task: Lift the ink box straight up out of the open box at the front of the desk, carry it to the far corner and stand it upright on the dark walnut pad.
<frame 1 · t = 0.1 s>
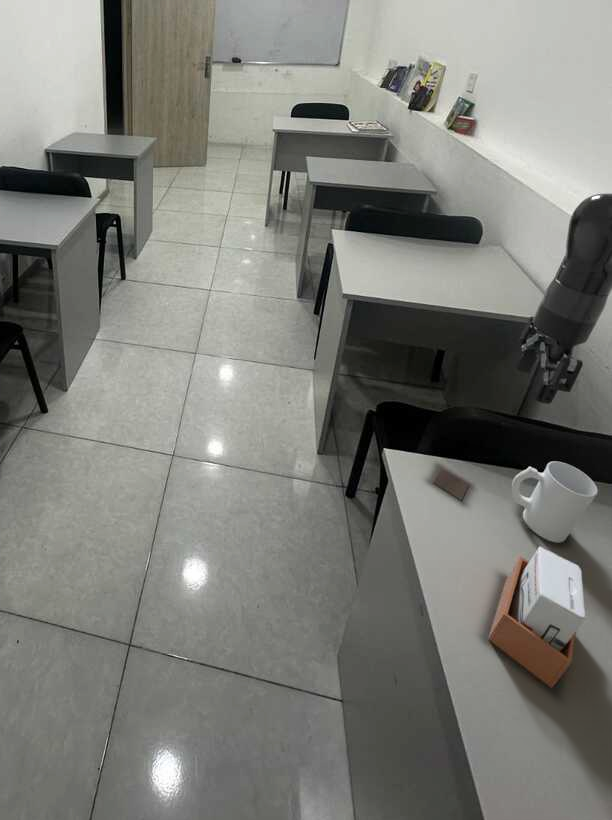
hand: (531, 385, 86), 22 cm above the table, tool pointing down, fingers open, 8 cm apart
open box: (525, 631, 69), on the table
ink box: (526, 630, 69), resting on open box
mug: (531, 522, 85), on the table
pad: (449, 485, 91), on the table
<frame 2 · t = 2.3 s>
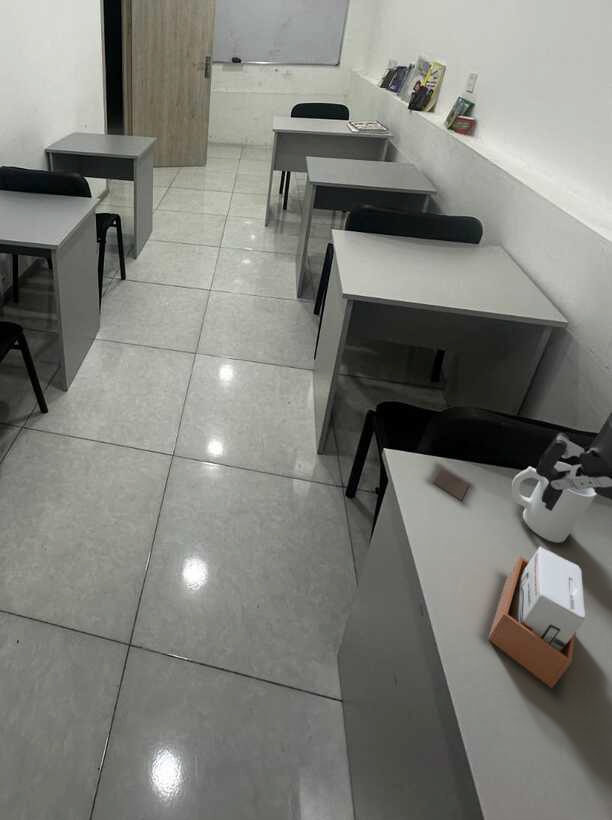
hand: (588, 528, 61), 21 cm above the table, tool pointing down, fingers open, 8 cm apart
nothing on the table moved.
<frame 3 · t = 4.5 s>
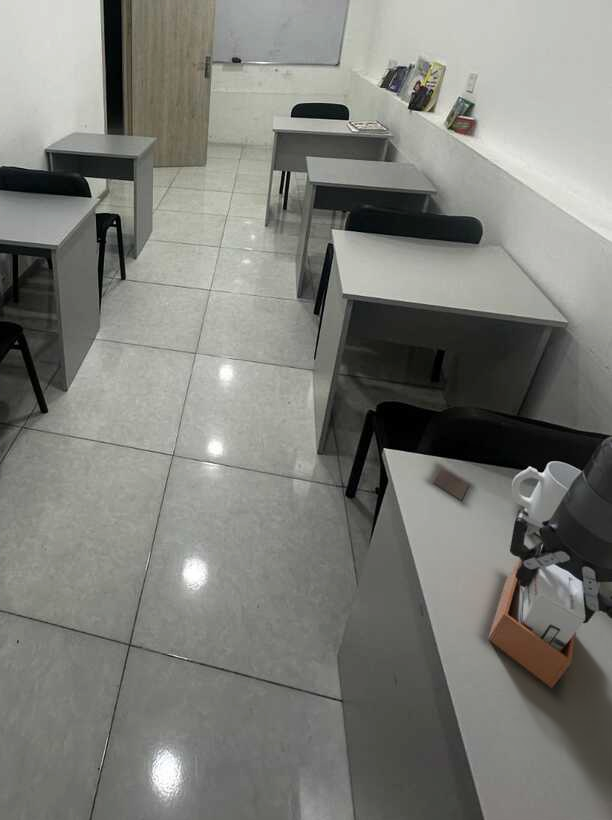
hand: (547, 598, 66), 8 cm above the table, tool pointing down, fingers closed on ink box, 5 cm apart
ink box: (526, 630, 69), resting on open box, touching gripper
everything else where it was.
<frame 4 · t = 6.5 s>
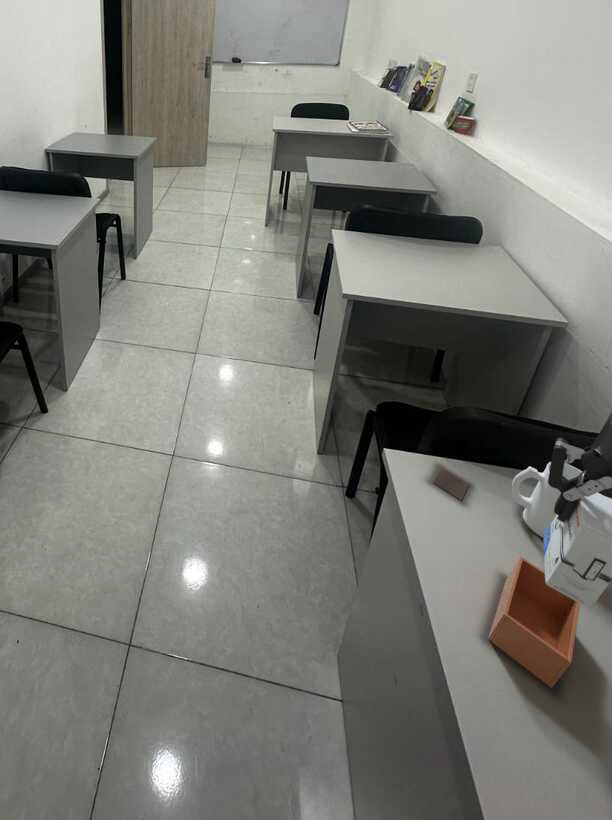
hand: (589, 532, 60), 21 cm above the table, tool pointing down, fingers closed on ink box, 5 cm apart
ink box: (565, 571, 64), point 14 cm above the table, touching gripper
everything else where it was.
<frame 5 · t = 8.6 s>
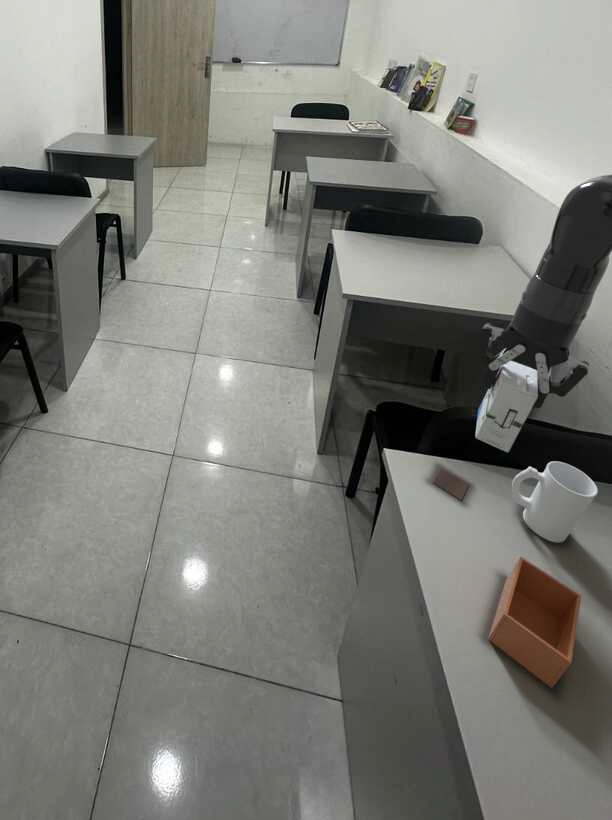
hand: (509, 395, 77), 25 cm above the table, tool pointing down, fingers closed on ink box, 5 cm apart
ink box: (492, 431, 80), point 17 cm above the table, touching gripper
everything else where it was.
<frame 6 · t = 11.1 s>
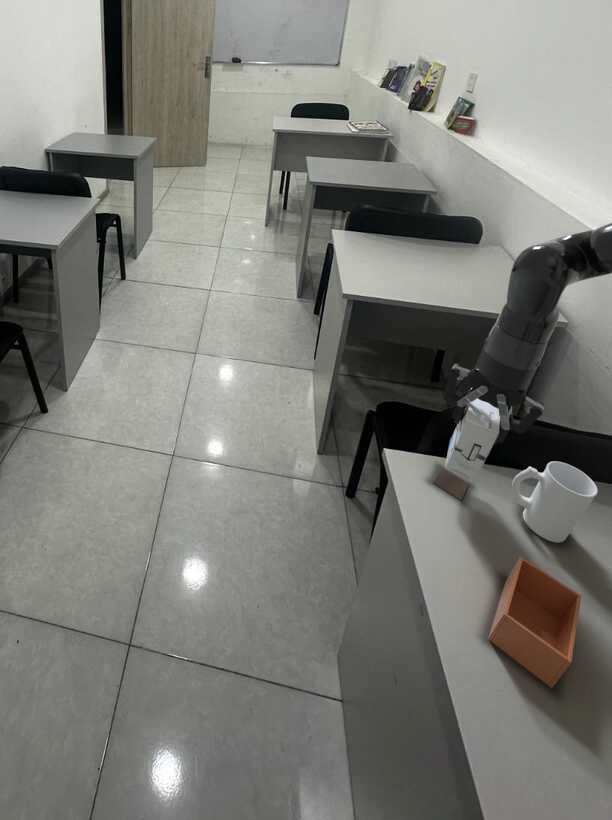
hand: (475, 430, 85), 14 cm above the table, tool pointing down, fingers closed on ink box, 5 cm apart
ink box: (461, 461, 88), point 6 cm above the table, touching gripper
everything else where it was.
when the fingers open (8 cm above the table, at t = 13.0 s): ink box stays where it is, resting on pad.
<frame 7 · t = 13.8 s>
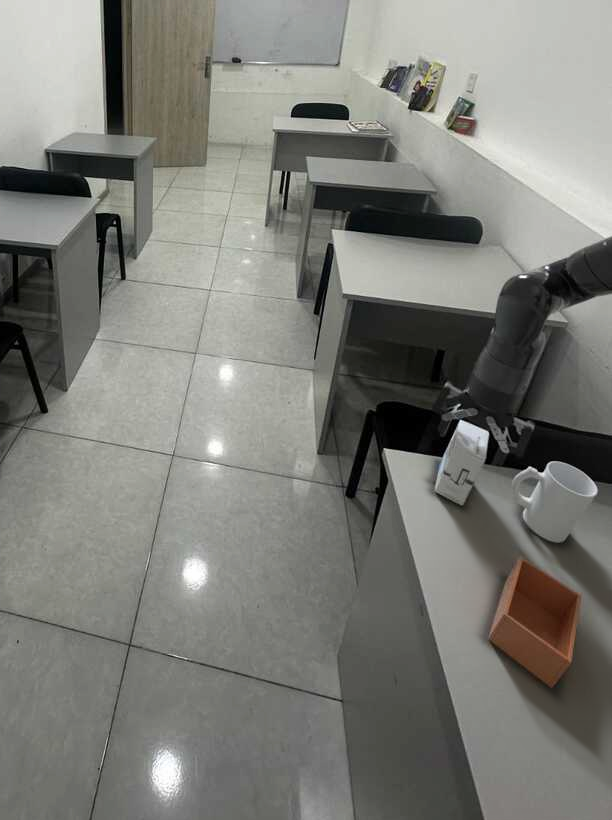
hand: (467, 447, 87), 10 cm above the table, tool pointing down, fingers open, 8 cm apart
ink box: (450, 484, 90), resting on pad
everything else where it was.
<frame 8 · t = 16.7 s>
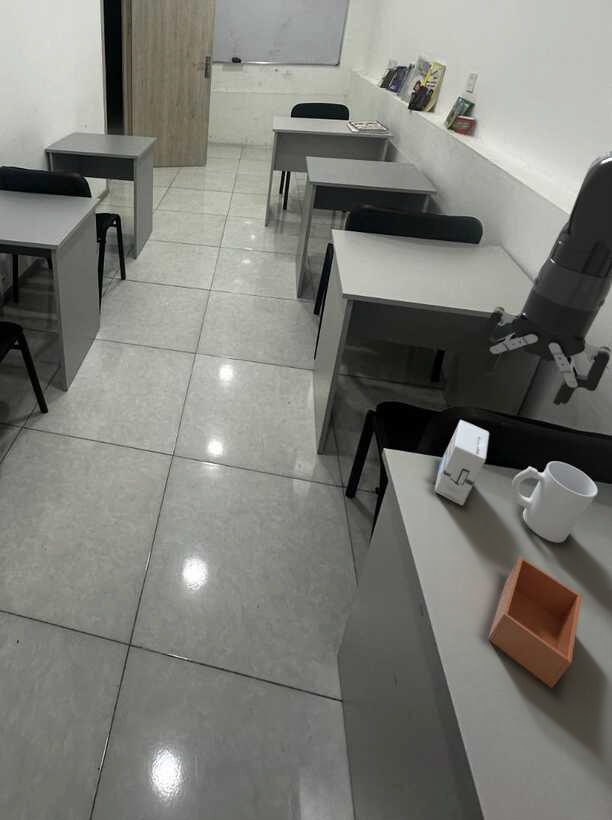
hand: (521, 386, 72), 30 cm above the table, tool pointing down, fingers open, 8 cm apart
nothing on the table moved.
at the end: ink box 0.1 cm off-centre on the pad, point 0.4 cm above the pad's base; ink box tilted 0°; ink box touching pad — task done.
